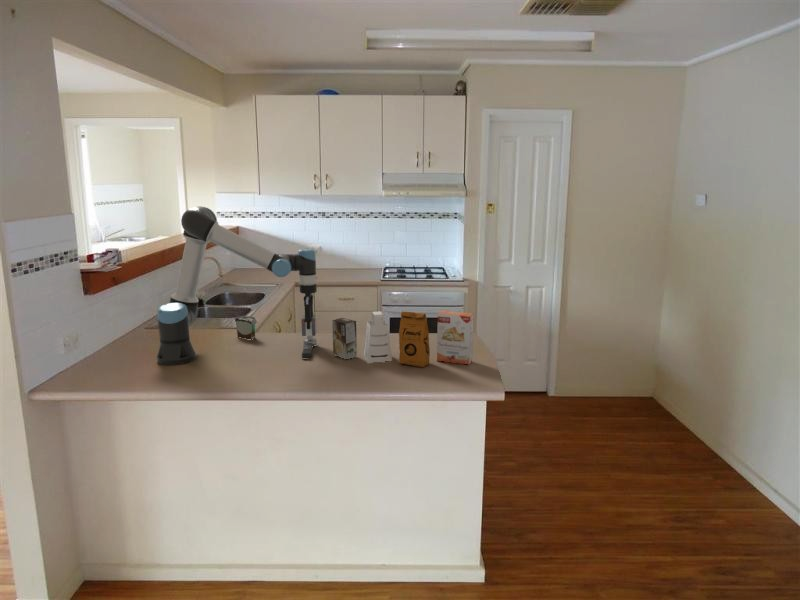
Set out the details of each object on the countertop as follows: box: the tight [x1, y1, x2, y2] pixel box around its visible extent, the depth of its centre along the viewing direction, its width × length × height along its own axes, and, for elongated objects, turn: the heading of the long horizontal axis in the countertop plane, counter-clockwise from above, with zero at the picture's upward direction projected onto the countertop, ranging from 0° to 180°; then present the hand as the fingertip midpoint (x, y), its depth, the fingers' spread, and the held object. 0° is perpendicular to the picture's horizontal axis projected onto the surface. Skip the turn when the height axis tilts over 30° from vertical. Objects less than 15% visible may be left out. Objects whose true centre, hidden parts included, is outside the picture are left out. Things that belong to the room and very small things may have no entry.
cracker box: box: [436, 310, 474, 366], centre depth 231 cm, size 14×6×21 cm, turn 68°
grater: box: [363, 310, 393, 364], centre depth 235 cm, size 10×10×20 cm
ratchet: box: [301, 336, 318, 359], centre depth 247 cm, size 22×6×8 cm, turn 4°
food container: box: [234, 315, 258, 341], centre depth 268 cm, size 12×6×10 cm, turn 58°
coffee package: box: [398, 311, 431, 368], centre depth 228 cm, size 10×12×22 cm
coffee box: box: [331, 317, 358, 360], centre depth 238 cm, size 9×6×16 cm
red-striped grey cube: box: [301, 315, 318, 337], centre depth 254 cm, size 6×6×8 cm
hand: (309, 333), depth 254 cm, fingers closed on red-striped grey cube, 6 cm apart
